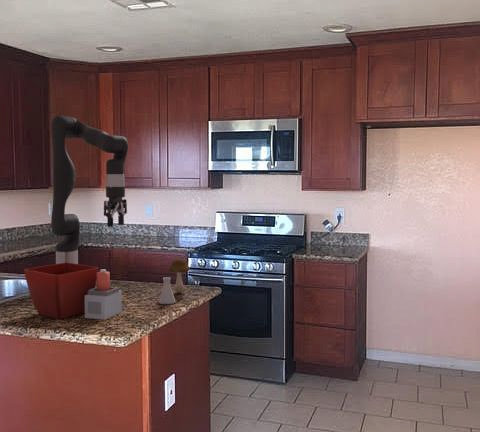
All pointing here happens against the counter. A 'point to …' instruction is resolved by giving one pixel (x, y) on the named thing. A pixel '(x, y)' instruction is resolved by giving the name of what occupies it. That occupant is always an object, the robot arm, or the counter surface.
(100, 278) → the pink cylinder white tip
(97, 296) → the grey box device
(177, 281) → the mushroom
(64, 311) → the plant pot
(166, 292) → the flask
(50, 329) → the counter surface
